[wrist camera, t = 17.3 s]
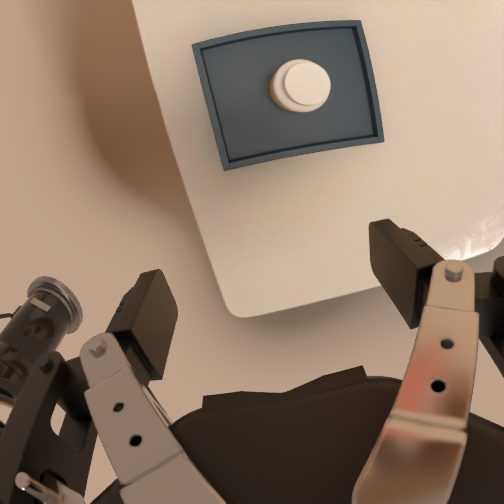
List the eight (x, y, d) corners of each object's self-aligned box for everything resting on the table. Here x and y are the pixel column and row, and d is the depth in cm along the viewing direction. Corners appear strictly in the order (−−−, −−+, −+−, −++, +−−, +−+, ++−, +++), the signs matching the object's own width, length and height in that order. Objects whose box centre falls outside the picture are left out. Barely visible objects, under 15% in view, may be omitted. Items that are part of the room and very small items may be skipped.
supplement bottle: (309, 64, 29) (331, 50, 20) (319, 107, 31) (344, 108, 23) (263, 72, 30) (269, 59, 21) (274, 115, 32) (284, 118, 23)
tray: (225, 167, 35) (224, 171, 34) (194, 47, 28) (191, 44, 26) (377, 139, 34) (384, 142, 32) (355, 23, 27) (360, 20, 25)
